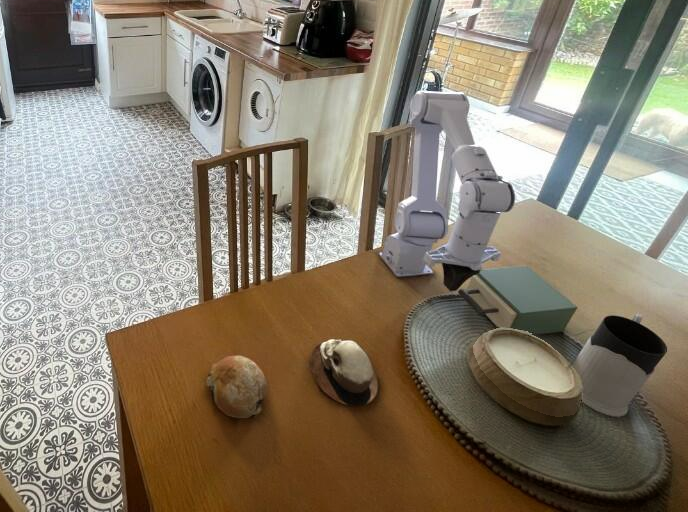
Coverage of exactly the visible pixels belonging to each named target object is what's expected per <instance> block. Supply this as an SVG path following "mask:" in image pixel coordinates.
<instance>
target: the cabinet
mask: <svg viewBox="0 0 688 512" xmlns="http://www.w3.org/2000/svg"><path fill="white" fill-rule="evenodd" d="M475 275H477V276H478V277H479V278H480V279H481V280H482V281H484V282H485V283H486V284H488V285H489V286H490V287H491V288H492V289H493V290H494V291H495V292H496V293H497V294H498V295H499V296H500V297H501V298H502V299H503V300H504V301H505V302H506V303H507V304H508V305H509V306H510V307H511V308H513V309H514V310H515V311H516V312H517V315H516V317H515V319H514V321H513V323H512V325H511V327H510V328H513V329H518V330H524V331H528V332H529V333H532V334H534V335H533V336H536V335H543V334H552V333H560V332H564V331H565V329H566V328H567V326H568V324H569V323H570V321H571V320H572V318H573V316H574V314H575V313H576V311H577V310H578V307H579V306H577V305H576V304H574V303H573V302H572V301H571V300H570V299H569V298H567V297H566V296H565V295H564V294H562V293H561V292H560V291H558V289H556V288H555V287H554V286H553V285H551V284H550V283H549V282H548V281H547V280H546V279H544V278H543V277H542V276H541V275H540V274H538V273H537V272H536V271H534V270H533V269H532V268H531V267H530V266H528V265H517V266H506V267H505V266H504V267H495V268H485V269H484V268H482V270H480V273H478V274H475Z"/></svg>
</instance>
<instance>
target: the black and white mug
mask: <svg viewBox="0 0 688 512" xmlns="http://www.w3.org/2000/svg"><path fill="white" fill-rule="evenodd" d="M642 320H643V316H642V315H641V314H639V313H636V314H634V316H633V318H632V319H631V318H628V317H624V316H620V315H607V316H605V317H604V318H603V319H602V321H601V322H600V324H599V325H598V326H597V329H596V330H595V332H594V333H592V334H591V335H590V336H589V338H588V339H587V341H586V343H585V344H584V346H583V347H582V349H581V350H580V352H579V353H578V355H577V356H576V358H575V360H574V361H573V363H572V364H571V366H573V368H574V369H575V370H576V372H577V373H578V374H579V376H580V378H581V381H582V385H583V396H582V401H581V403H583V404H585V406H587V407H589V408H591V409H593V410H595V411H597V412H599V413H601V414H603V415H607V416H611V417H624V416H626V415H627V413H628V412H629V404H630V403H631V402H632V400H633V399H634V398H635V397H636V395H637V394H638V392H640V390H641V389H642V388H643V386H644V385H645V383H646V382H647V381H648V380H649V379H650V377H651V376H652V375H653V374H654V372H655V371H656V370H655V368H656V367H657V366H658V365H659V363H660V362H661V360H663V358H664V357H665V355H666V354H667V352H668V346H667V344H666V343H665V341H664V340H663V339H662V338H661V336H659V335H658V334H657V333H656V332H654V331H653V330H652V329H650V328H648V327H647V326H645V325H643V324H642V323H641V322H642Z"/></svg>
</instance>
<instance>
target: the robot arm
mask: <svg viewBox="0 0 688 512" xmlns="http://www.w3.org/2000/svg"><path fill="white" fill-rule="evenodd" d="M469 101H470V100H469V98H468V96H467V95H466V94H465V92H462V91H461V92H459V91H458V92H446V91H445V92H444V91H424V90H418V91H416V93H415V94H414V95H413V97H412V98H411V100H410V105H409V126H411V127H412V128H414V142H413V143H414V144H413V160H412V161H413V162H412V163H413V164H412V179H411V195H410V196H409V197H407V198H405V199H403V200H402V201H400V202H398V204H397V209H396V213H395V217H394V227H395V231H396V232H395V233H393V234H390V235H387V236H386V238H385V241H384V244H383V247H382V252H379V253H378V254H379V257H380V258H381V259H382V260H383V261H384V262H385V264H386V265H387V266H388V267H389V269H390V270H391V271H392V272H393V274H394V276H395V277H397V278H401V277H402V278H403V277H412V276H413V277H414V276H424V275H432V274H433V272H434V271H433V270H432V269H431V268H430V267H435V266H436V264H441V267H442V273H443V285H444V287H445V288H446V289H447V290H448V291H449V292H456V291H457V290H459V289H460V287H462V285H463V284H465V282H467V281H468V280H470V279H471V277H472V276H474V275H475V274H478V273H480V270H483V269H484V266H483V264H484V263H486V262H488V261H490V260H491V261H492V262H497V261H499V259H500V256H501V254H502V252H501V251H499V250H498V249H497V248H496V247H494V246H488V244H489V241H490V239H491V237H492V234H493V232H494V230H495V227H496V225H497V222H498V220H499V218H500V216H501V213H509V212H510V211H512V209H513V208H514V206H515V203H516V193H515V190H514V186H513V185H512V183H511V182H510V181H509V180H507V179H504V177H503V176H502V175H498V173H497V171H496V169H495V167H494V165H493V163H492V161H491V159H490V157H489V155H488V153H487V150H486V149H485V148H484V147H482V146H479V145H476V142H475V140H474V136H473V132H472V130H471V126H470V123H469V121H468V118H467V117H468V115H469V112H470V102H469ZM443 131H444V133H445V135H446V136H447V139H448V140H449V142H450V143H451V145H452V148H453V150H454V152H453V153H452V155H451V160H452V163H453V165H454V169H455V171H456V173H457V175H458V178H459V181H460V183H461V184H460V186H459V190H458V191H459V193H458V195H459V202H458V205H457V211H458V215H457V218H456V220H455V223H454V225H453V228H452V231H451V233H450V236H449V238H448V241H447V243H446V244H444V245H442V246H439V247H437V248H436V249H434V250H432V248H433V245H434V244H437V243H438V241H439V240H444V238H446V236H447V235H448V232H449V222H448V218H447V208H446V207H444V206H443V205H442V204H441V203H440V202H439V201H437V184H438V183H437V182H438V168H439V151H440V150H439V149H440V148H439V147H440V134H441V133H442V132H443Z"/></svg>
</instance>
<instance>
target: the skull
mask: <svg viewBox="0 0 688 512" xmlns="http://www.w3.org/2000/svg"><path fill="white" fill-rule="evenodd" d="M309 368H310V372H311V375H312V376H313V379H314V380H315V382H316V384H317V385H318V387H319V388H320V389H321V391H323V392H324V394H326V395H327V396H328V397H330V398H331V399H333V400H334V401H336V402H338V403H340V404H343V405H346V406H349V407H361V406H365V405H367V404H369V403H371V402H372V401H373V400H374V398H375V397H376V396H377V393H378V389H379V382H378V377H377V376H378V375H377V374H376V373H377V372H376V370H375V369H374V367H373V365H372V363H371V360H370V358H369V357H368V355H367V354H366V352H365V351H364V350H363V349H362V348H361V347H360V345H358V343H357V342H356V341H353V340H341V339H340V338H339V339H333V338H332V339H328V340H327V341H324V342H322V343H319V344H317V345H316V346H315V347H314V348H313V350H312V351H311V354H310V358H309Z"/></svg>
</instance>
